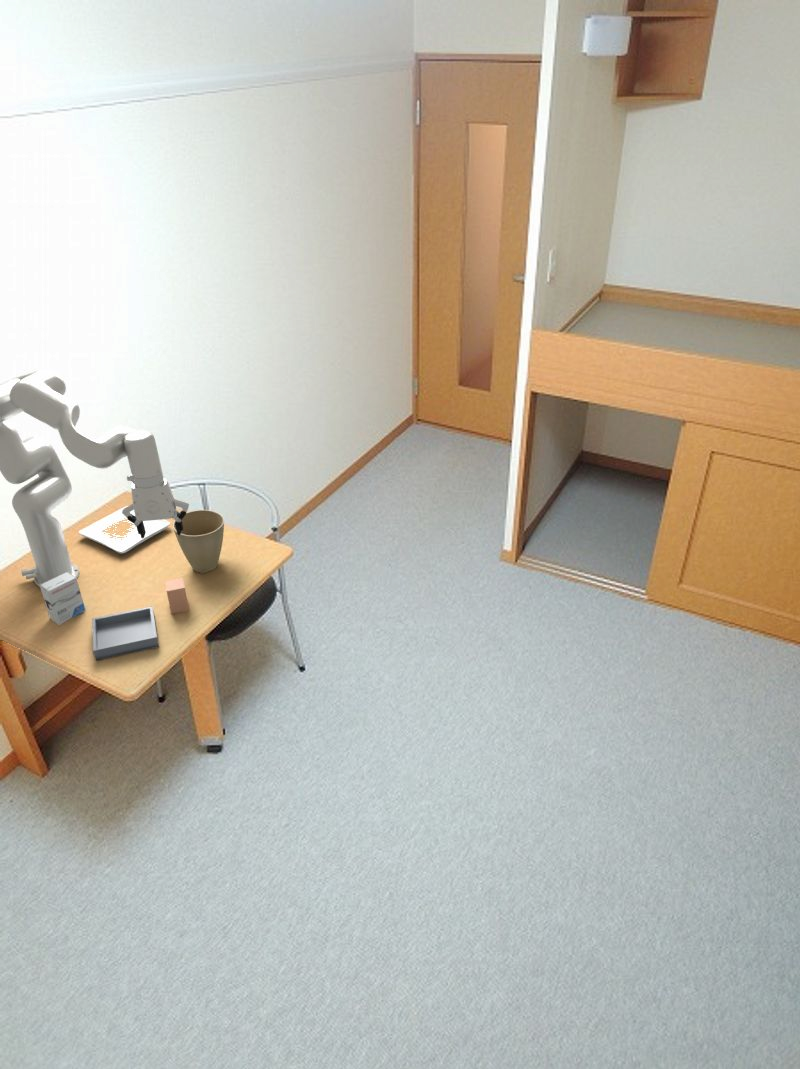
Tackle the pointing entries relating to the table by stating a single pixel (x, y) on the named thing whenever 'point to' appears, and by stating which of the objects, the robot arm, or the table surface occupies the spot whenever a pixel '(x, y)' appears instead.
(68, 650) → the table surface
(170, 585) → the terracotta block
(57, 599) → the ink box
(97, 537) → the salad plate
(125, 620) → the tray
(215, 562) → the plant pot
